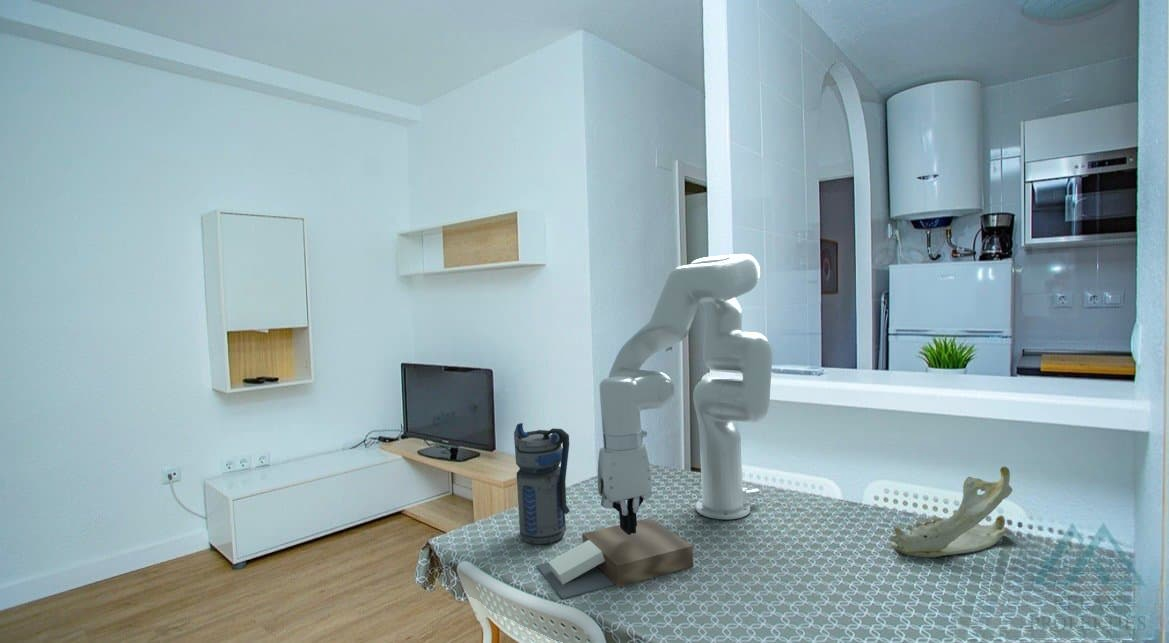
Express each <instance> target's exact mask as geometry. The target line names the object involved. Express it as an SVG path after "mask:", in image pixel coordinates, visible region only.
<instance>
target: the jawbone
mask: <svg viewBox="0 0 1169 643" xmlns="http://www.w3.org/2000/svg"><path fill="white" fill-rule="evenodd" d="M999 471H1000V479H999V480H998V481H986V480H983V479H981V478H979V477H971V476H968V477H966V479H965V480H964V481H963V486H962V500H961V502H960V505H959V507H958V509H957V510H956V511H955V512H954V513H953V514H952V515H951V516H950V517H948V518H946V519H943V518H942V517H939V516H937V515H933V516H932V520H929V518H927V517H924V519H923V521H924V522H923V523H921V522H920V521H918V520H916V521H915V527H916V528H915V527H914V526H913V525H910V524H907V526H906V527H907V530H908V531H910V532H907V531H904V530H903V529H902V528H900V527H899V525H897V524H896V523H895V522H893V524H892V527H893V531H894V533H895V535H890V539H889V541H890V543H889V544H888V545H889V546H890V547H891V548H894V549H895V550H896V551H898V552H899V553H901V554H903V555H907V556H910V557H919V558H928V559H930V558H939V557H943V556H951V555H959V554H967V553H968V554H969V553H974V552H979V551H983V550H985V549H988V548H990V547H992V546H994V545H995V544H997V543H998V540H1000V539H1001V538H1003V536H1005V535H1006V534H1007V533H1008V532H1009V529H1008V527H1005V524H1006V520H1005V516H1003V515H1001V514H999V515H997V516H996V518H995V521H994V522H993V523H992V524H989V525H987V524H986V525H985V524H984V525H982V524H979V523H980V522H982V521H983V520H984V519H985V518H986V517H987V516H989V515H990V514H991V513H992V512H993V511H994V510H996V508H998V507H999V505H1000V504H1001V503H1002V502H1003V500H1006V499H1007V498H1008V497H1010V495H1011V494H1012V492H1013V488H1012V487H1011V486H1010V481H1011V480H1010V479H1011V478H1010V477H1011V472H1010V469H1009V468H1008V467H1007V466H1002V467H1000V470H999ZM978 490H980V492H984V493H982V494H978Z"/></svg>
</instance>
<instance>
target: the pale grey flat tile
mask: <svg viewBox="0 0 1169 643" xmlns="http://www.w3.org/2000/svg"><path fill="white" fill-rule="evenodd" d="M604 561H605V559H604V556H603V553H602V551H601V550H600V549H599V548H598V547H596V546H595V545H594V544H593V543H592V542H591V541H590V540H588V541H586V542H584V543H583V542H582V543H581V544H579V545H577V546H575V547H573V548H571V549H569V550H567V551H565V552H564V553H562V554H560V555H558V556H556V557H555V558H552V559H551V560H549V561H548V562H549V565H550V568H551V571H552V572H553V573H554V575H555V576H556V577H557V578H558V580H559V581H560V582H561V583H562V584H565V583H567V582H569V581H570V580H572V579H574V578H576V577H578V576H579V575H581V574H583V573H585V572H586V571H588V570H590V569H592V568H594V567H595V566H596V567H597V565H599V564H601V563H602V562H604Z"/></svg>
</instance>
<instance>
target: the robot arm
mask: <svg viewBox="0 0 1169 643" xmlns="http://www.w3.org/2000/svg"><path fill="white" fill-rule="evenodd" d="M760 270H761V268H760V265H759V263H758V261H757V260H756V258H755V257H754V256H752V255H750V254H748V253H747V254H746V253H739V254H738V253H737V254H729V255H716V256H715V255H714V256H707V257H706V256H705V257H702V258H698V259H695V260H693V261H692V262H690V263H689V264H685V265H681V266H677V267H675V268H674V269H672V271H670V273H668V277H667V278H666V281H665V284H664V286H663V288H662V289H661V290H662V291H661V293H660V295H659V299H658V300H657V303H656V304H655V307H654V310H653V313H652V314H651V317H650V320H649V321H648V322H647V323H646V324H645V325H644V326H642V328H640V329H638V330H637V332H635V333H634V335H632V336H631V338H629V340H628V341H626V342H625V343H624V344H623V345H622V347H621V348H620V350H619V352H618V353H617V355H616V357H615V359H614V362H613V363H612V367H611V368H610V372H609V374H608V377H606V378H603V379H602V380H601V381H600V384H599V402H600V412H601V414H600V415H601V427H602V441H603V443H602V444H603V447H600V449H599V450H598V451H599V452H598V461H597V493H598V495H599V496H601V498H600V499H601V500H600V506H601V507H602V508H603V509H615V511H617V512H618V515H619V516H618V518H619V525H620V527H621V529H622V530H623V531H624V532H625V533H627V534H628V535H630V534H631V533H633V534H634V533H636V526H637V521H638V520H637V519H638V518H637V513H639V508H640V506H641V505H642V503H643V502H644V501H646V500H649V499H650V498H651V497H652V496H653V494H652V490H653V489H652V488H653V480H652V478H653V477H652V473H651V472H652V471H651V466H650V465H651V464H650V460H649V455H648V452H647V449H646V446H645V443H643V442H644V441H643V439H644V438H646V437H647V436H648V432H647V430H645V429H642V425H641V424H642V423H641V411H647V410H648V411H650V410H658V409H662V408H664V407H665V406H667V405H669V403H670V402H671V401H672V399H673V397H674V395H675V384H674V382H673V379H671V377H670V376H669V375H667V374H666V373H665V372H660V371H658V370H657V371H656V370H645V369H641V368H642V366H643V364H644V363H645V362H646V361H647V360H649V358H651V357H652V356H654V355H655V354H658V353H659V352H661V351H663V350H665V349H668V348H671V347H672V346H675V345H677V344H679V343H681V342H684V340H686V338H687V336H688V335H689V333H690V329H691V327H692V324H693V321H694V318H695V316H696V314H697V310H698V308H699V306H700V305H701V304H702V306H703V308H704V314H705V316H704V317H705V318H704V335H703V336H704V337H703V351H702V353H703V354H702V359H703V363H704V366H705V367H706V368H707V369H709V370H710V371H714V372H721V373H731V374H732V373H733V374H742V379H739V378H732V377H731V378H729V377H707V378H703V379H701V380H700V381H699V382H697V384H696V385H695V387H694V390H693V395H692V399H693V405H694V409H695V413H696V418H697V424H698V436H699V452H700V453H699V455H700V456H699V457H700V477H701V478H700V479H701V498H700V499H699V500H698V501H696V503H695V510H696V511H697V513H699V515H702V516H704V517H707V518H710V519H716V520H736V519H740V518H741V519H742V518H744V517H746V516H748V515H749V514H750V512H751V504H750V503H748V501H749V500H750V499H751V498H752V499H753V498H756V497H757V498H758V497H760V494H761V493H760V490H759V489H758V488H753V489H748V488H747V487H744V485H743V484H744V482H743V466H742V464H743V463H742V462H743V461H742V460H743V459H742V458H743V456H742V437H741V433H740V430H739V428H738V426H737V424H736V422H741V423H749V424H750V423H751V424H753V423H754V424H755V423H759V422H762V421H763V420H764V419H765V418H766V416H767V415H768V414H767V413H768V412H769V408H770V399H771V398H770V397H771V385H772V384H771V382H772V368H773V365H772V364H773V354H772V352H773V351H772V347H771V344H770V342H769V339H767V337H766V336H764V335H763V334H762V333H760V332H752V331H751V332H750V331H749V332H748V331H743V332H742V324H743V323H742V321H743V319H742V318H743V315H742V314H743V312H742V308H741V306H740V304H739V302H738V301H737V299H736V298H737V297H740V296H742V295H745V294H747V293H749V292H751V291H752V290H753V289H754V288H755V287H756V286H757V284H758V282H759V280H760V275H761V271H760ZM735 421H736V422H735Z"/></svg>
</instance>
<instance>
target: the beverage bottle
mask: <svg viewBox="0 0 1169 643" xmlns="http://www.w3.org/2000/svg"><path fill="white" fill-rule="evenodd" d="M523 424H524V423H523V422H520V423H517V424H516V426H515V430H514V433H513V438H514V439H513V440H514V455H515V457H514V458H515V464H516V466H517V467H518V468H519V470H518V471H516V474H515V475H516V487H517V488H516V489H517V506H518V508H517V509H518V521H519V522H518V523H519V525H518V526H519V535H520V536H521V538H522V540H524V541H525V542H526V543H530V544H534V545H545V544H546V543H547V544H551V543H554V542H557V541H559V540H560V539H562V538H563V537H564V535H565V532H566V530H567V526H566V522H567V521H566V515H567V514H568V513H570V511H571V510H570V509H569V507H568V506H567V489H566V487H567V486H566V481H567V480H566V478H567V469H568V461H569V450H570V435H569V434H568V433H567V432H566V431H565V430H564V429H562V428H554V427H553V428H551V429H550V430H545V429H537V430H532V431H525V430H524V426H523ZM547 544H546V545H547Z"/></svg>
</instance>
